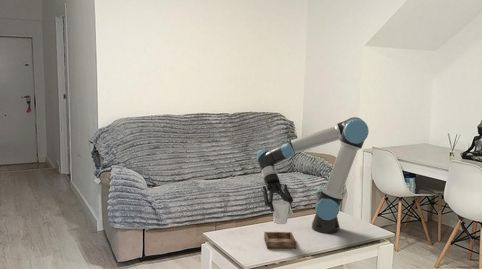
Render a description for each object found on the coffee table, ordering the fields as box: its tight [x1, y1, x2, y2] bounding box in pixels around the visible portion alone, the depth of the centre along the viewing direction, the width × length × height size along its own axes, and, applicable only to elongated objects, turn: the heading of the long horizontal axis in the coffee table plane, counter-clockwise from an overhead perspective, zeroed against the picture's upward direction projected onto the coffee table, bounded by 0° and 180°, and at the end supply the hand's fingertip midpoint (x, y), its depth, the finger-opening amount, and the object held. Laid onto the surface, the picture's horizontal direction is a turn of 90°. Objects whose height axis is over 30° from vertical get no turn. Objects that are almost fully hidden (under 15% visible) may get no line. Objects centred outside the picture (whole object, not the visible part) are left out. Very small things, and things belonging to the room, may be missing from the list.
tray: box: [263, 231, 297, 250], centre depth 217 cm, size 14×14×4 cm
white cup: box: [272, 199, 289, 225], centre depth 215 cm, size 8×8×10 cm
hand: (284, 216), depth 212 cm, fingers closed on white cup, 8 cm apart
